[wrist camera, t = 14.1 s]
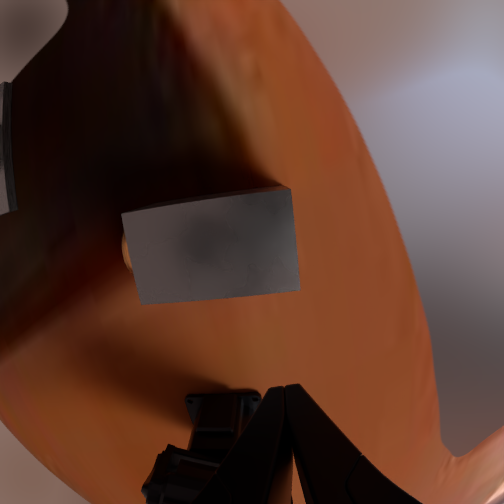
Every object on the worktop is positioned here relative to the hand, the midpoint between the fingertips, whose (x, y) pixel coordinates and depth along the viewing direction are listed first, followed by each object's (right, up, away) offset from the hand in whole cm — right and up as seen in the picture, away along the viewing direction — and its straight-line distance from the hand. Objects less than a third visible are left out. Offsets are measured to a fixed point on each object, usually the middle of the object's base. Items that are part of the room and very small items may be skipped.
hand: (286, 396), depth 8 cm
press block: (-3, +5, +12) cm, 13 cm away
